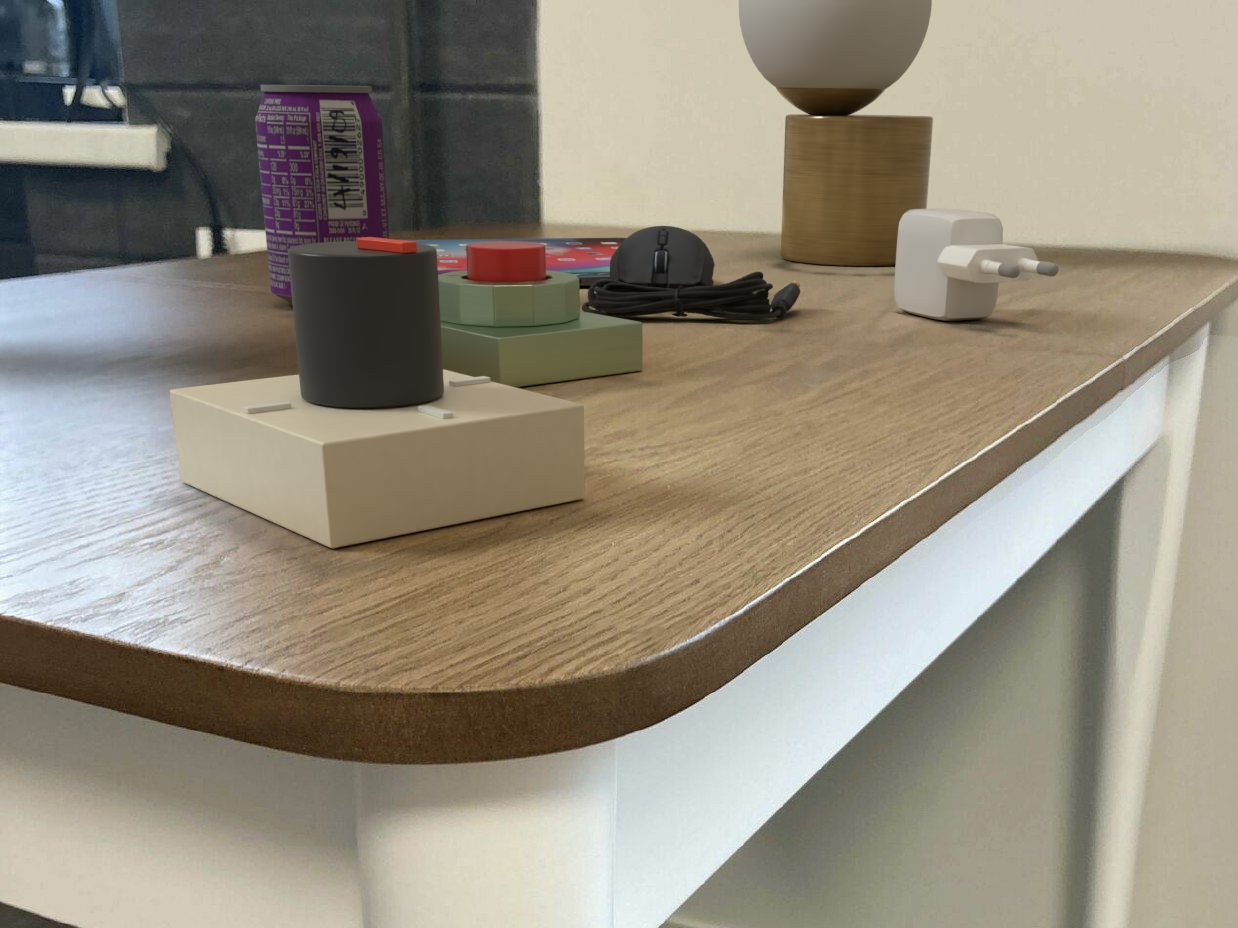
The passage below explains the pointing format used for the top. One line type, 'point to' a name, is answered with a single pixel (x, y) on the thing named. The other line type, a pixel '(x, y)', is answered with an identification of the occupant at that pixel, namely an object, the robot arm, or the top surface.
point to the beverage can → (319, 170)
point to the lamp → (843, 122)
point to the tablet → (561, 255)
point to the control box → (379, 456)
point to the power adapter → (957, 263)
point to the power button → (506, 261)
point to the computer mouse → (680, 281)
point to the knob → (367, 322)
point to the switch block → (531, 332)
